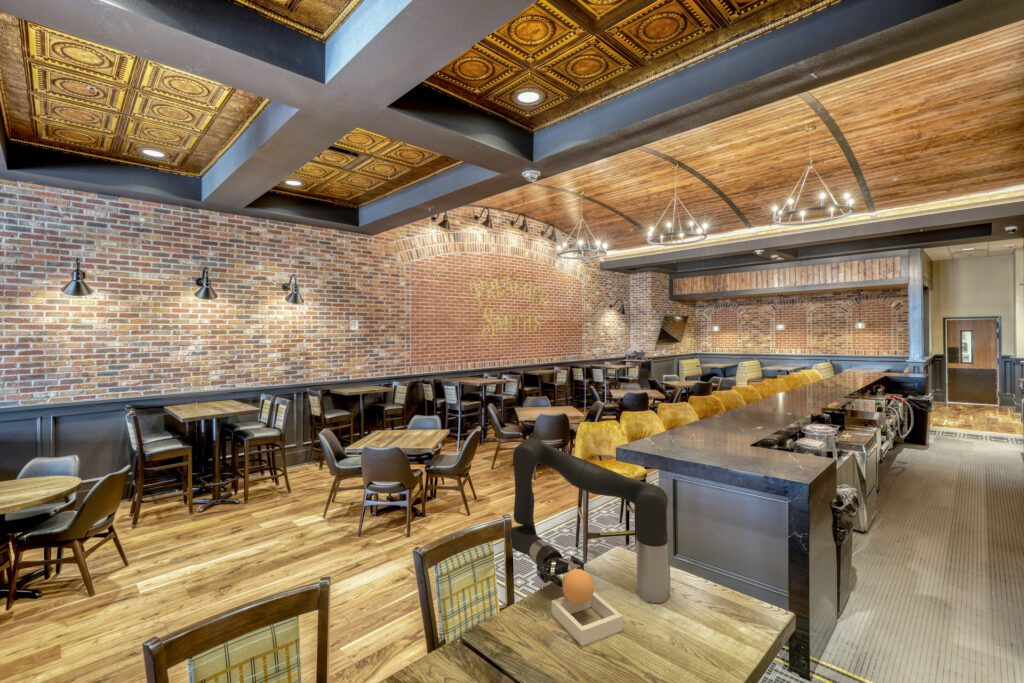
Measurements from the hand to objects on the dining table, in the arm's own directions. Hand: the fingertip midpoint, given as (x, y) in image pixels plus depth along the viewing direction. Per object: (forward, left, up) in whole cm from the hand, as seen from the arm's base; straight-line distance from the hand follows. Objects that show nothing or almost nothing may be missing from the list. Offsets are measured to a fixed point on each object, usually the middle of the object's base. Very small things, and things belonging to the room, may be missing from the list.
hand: (573, 580), depth 132 cm
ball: (0, +2, -1) cm, 2 cm away
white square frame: (0, +6, -9) cm, 11 cm away
